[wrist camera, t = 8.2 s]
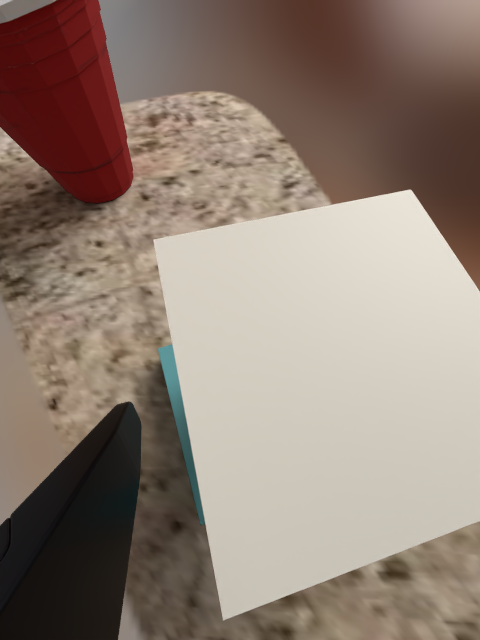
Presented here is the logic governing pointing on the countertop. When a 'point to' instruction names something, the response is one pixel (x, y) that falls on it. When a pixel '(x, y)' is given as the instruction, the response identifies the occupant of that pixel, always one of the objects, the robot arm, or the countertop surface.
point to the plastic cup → (63, 95)
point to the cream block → (324, 389)
